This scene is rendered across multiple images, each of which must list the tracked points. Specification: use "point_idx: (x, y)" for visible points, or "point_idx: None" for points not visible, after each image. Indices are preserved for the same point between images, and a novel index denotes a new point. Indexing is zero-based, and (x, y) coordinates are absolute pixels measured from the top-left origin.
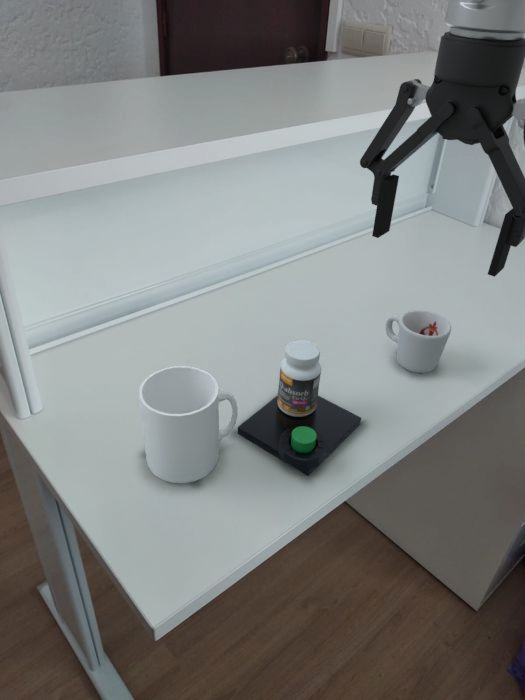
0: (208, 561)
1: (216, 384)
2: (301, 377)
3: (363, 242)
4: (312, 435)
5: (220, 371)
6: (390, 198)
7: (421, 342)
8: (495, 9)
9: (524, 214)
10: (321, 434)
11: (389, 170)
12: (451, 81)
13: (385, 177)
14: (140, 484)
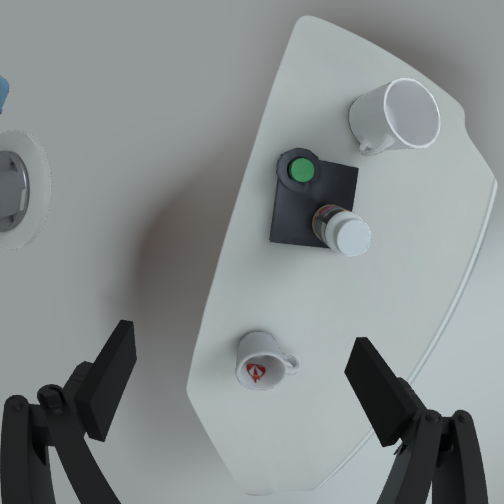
0: (301, 52)
1: (395, 133)
2: (338, 215)
3: (350, 444)
4: (295, 173)
5: (402, 232)
6: (376, 403)
7: (255, 349)
8: None
9: (40, 391)
10: (290, 188)
11: (415, 433)
12: None
13: (411, 422)
14: None
